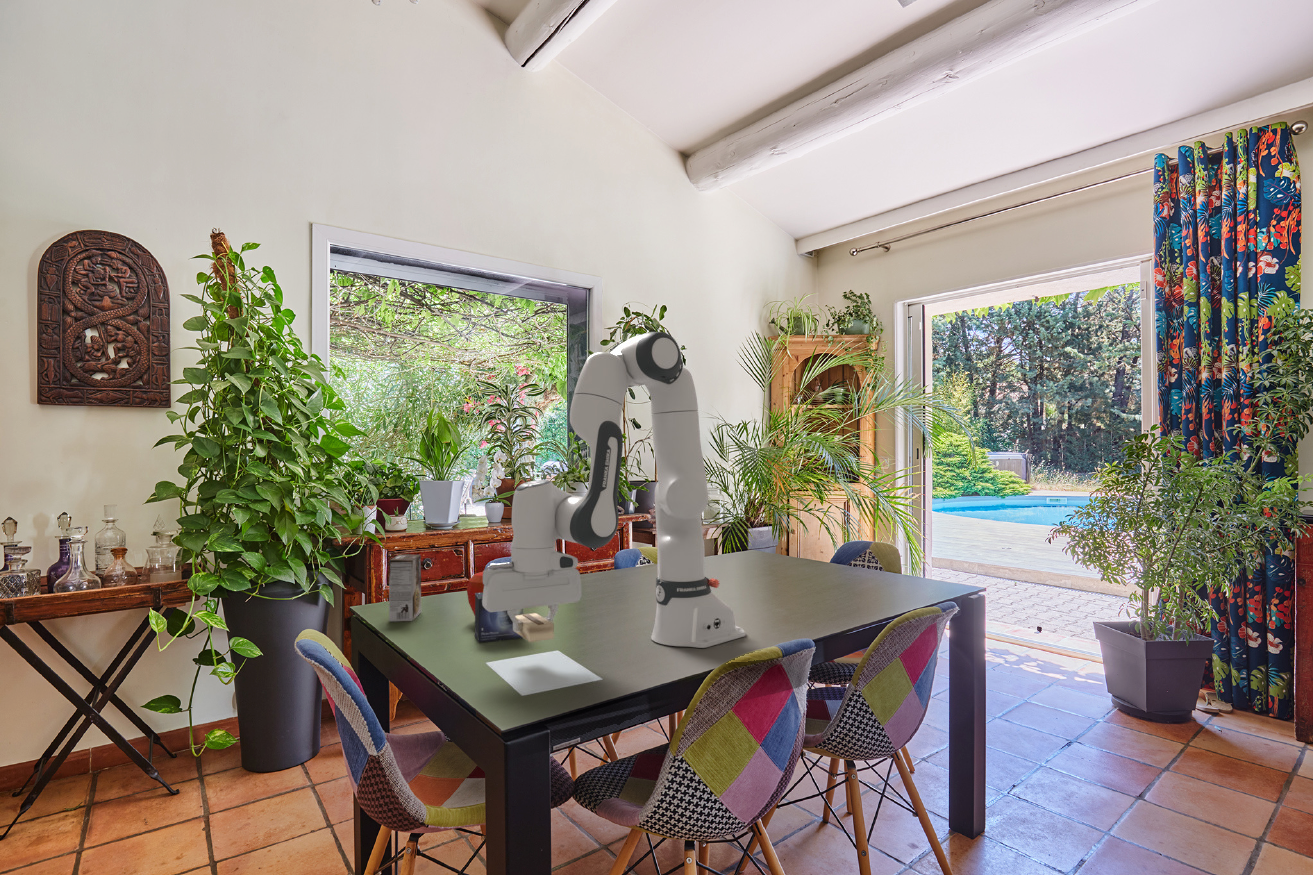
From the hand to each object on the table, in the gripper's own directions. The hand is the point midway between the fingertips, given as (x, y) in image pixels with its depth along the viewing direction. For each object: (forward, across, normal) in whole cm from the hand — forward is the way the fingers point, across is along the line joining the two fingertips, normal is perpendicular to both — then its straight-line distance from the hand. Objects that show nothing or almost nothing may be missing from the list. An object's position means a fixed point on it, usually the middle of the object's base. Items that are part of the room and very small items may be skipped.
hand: (532, 628), depth 137 cm
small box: (+8, +1, +26) cm, 27 cm away
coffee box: (+9, -14, +59) cm, 61 cm away
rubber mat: (+8, 0, -4) cm, 9 cm away
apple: (+8, +4, +42) cm, 43 cm away
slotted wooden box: (+1, 0, 0) cm, 1 cm away
